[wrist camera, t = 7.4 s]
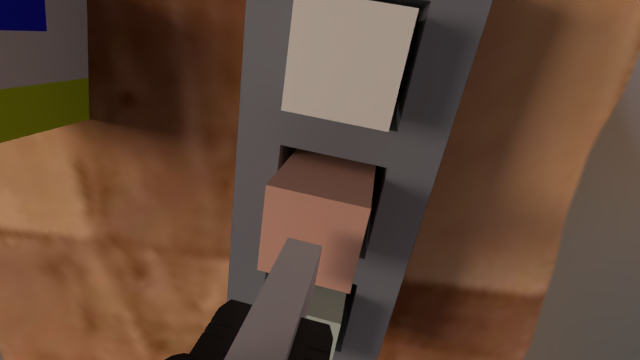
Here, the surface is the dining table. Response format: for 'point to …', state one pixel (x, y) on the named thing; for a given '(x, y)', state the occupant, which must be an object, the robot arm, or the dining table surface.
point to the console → (352, 153)
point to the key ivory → (347, 60)
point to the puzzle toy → (42, 66)
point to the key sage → (328, 310)
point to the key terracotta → (318, 213)
